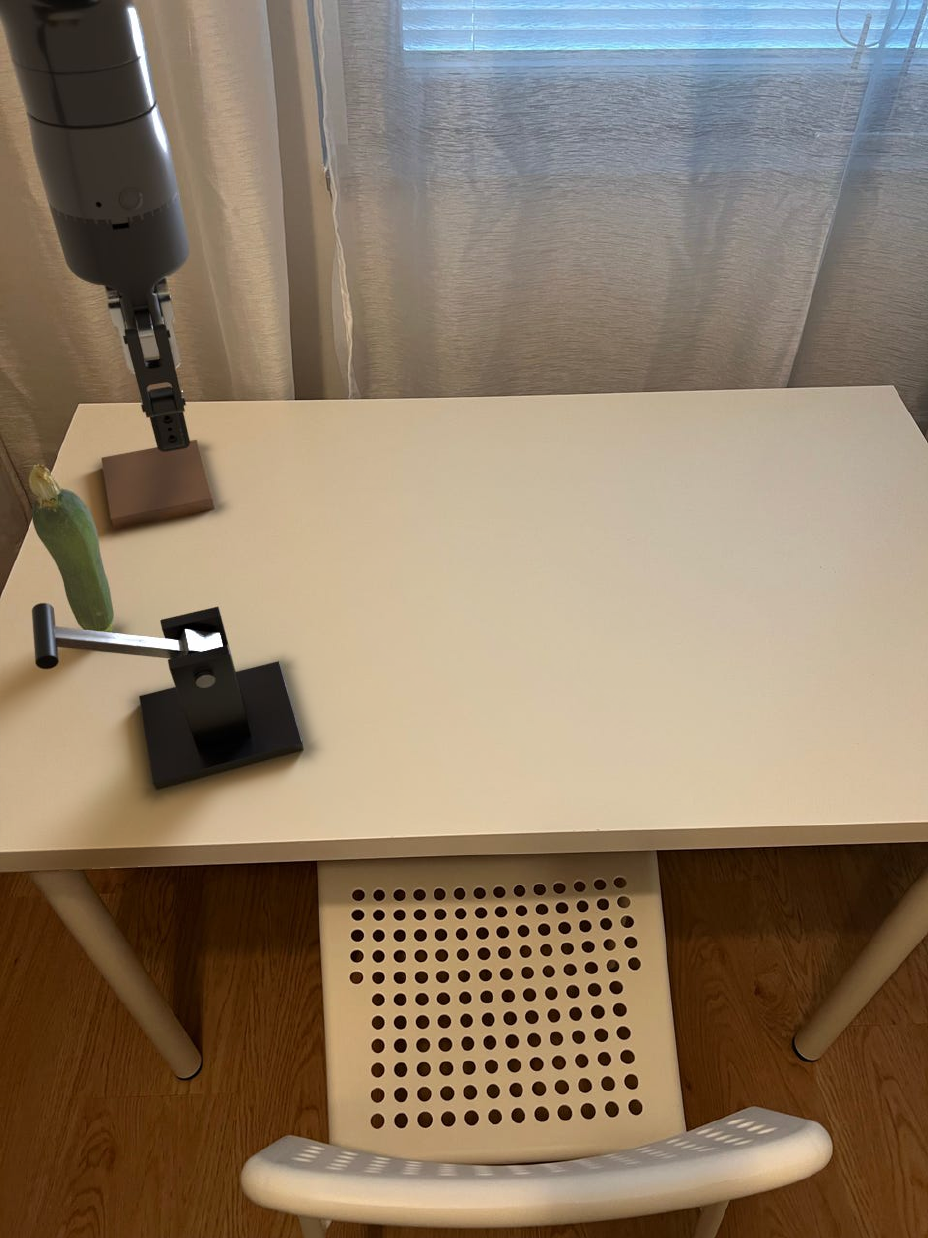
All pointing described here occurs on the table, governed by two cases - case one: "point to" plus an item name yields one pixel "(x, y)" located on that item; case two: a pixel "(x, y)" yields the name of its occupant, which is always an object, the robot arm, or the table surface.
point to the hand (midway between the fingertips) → (166, 411)
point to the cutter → (215, 711)
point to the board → (155, 485)
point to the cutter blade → (109, 640)
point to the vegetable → (72, 549)
